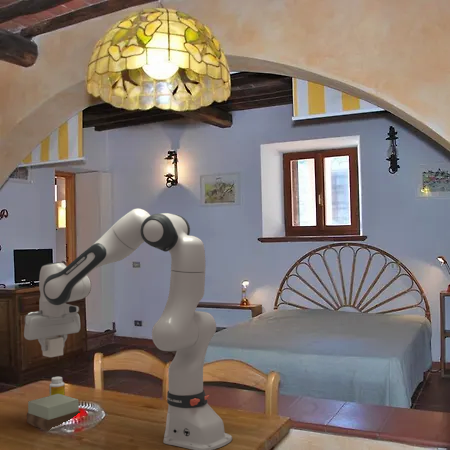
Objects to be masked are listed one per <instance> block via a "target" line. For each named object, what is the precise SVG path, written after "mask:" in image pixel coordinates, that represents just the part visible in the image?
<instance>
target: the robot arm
mask: <svg viewBox="0 0 450 450" xmlns="http://www.w3.org/2000/svg"><path fill="white" fill-rule="evenodd" d="M190 233H191V228H190V224H189V222H188V221H187V219H185V217H183V216H181V215H179V214H174V213H168V212H163V213H154V214H150V213H149V212H148V211H146V210H145V209H142V208H133V209H131V210H130V211H128V212H127V213H126V214H124V215H123V216H122V217H120V218H119V219H117V221H115V223H114V224H113V225H112V226H111V227H110V228H109V229H108V230H107V231H105V232H104V233H103V234H102V236H100V238H98V239H97V240H96V241H95V242H94V243H92V245H91V246H90V247H88V248H87V249H86V250H84V251H83V252H82V253H81V254H80V255H78V256H77V257H76V258H75V259H74V260H73V261H71V262H70V263H69V264H68V265H66V264H65V263H63V262H62V261H61V262H59V261H56V262H50V263H46V264H44V265H42V266H41V268H40V271H39V279H38V285H39V286H38V289H39V292H40V294H39V295H40V297H39V300H38V301H39V303H38V304H39V306H38V307H39V310H36V311H30V312H28V313H27V314H26V315H25V316H24V330H23V337H24V339H25V340H28V341H33V340H34V341H35V340H37V341H38V343H39V345H40V347H41V351H42V352H43V351H47V350H48V345H45V343H44V341H45V338H47V337H53V336H58V337H62V338H63V349H64V348H65V344H66V343H65V342H66V341H67V339H68V335H69V334H70V335H71V334H77V333H79V332H80V330H81V317H80V314H79V312H80V307H79V306H77V305H72V304H70V302H75V301H79V300H82V299H85V298H87V297H88V296H89V295H90V293H91V290H92V281H91V279H90V277H89V276H88V275H89V274H91V272H93V271H94V270H95V269H98V268H101V267H102V266H105V265H108V264H112V263H117V262H119V261H122V260H124V259H126V258H127V257H129V256H130V255H132V254H133V253H134V252H135V251H136V250H137V249H138V248H139V247H140V246H141V245H143V243H144V242H145V243H146V244H147V245H149V246H151V247H153V248H155V249H158V250H161V251H163V252H169V254H170V257H171V264H170V279H169V280H170V281H169V291H168V297H167V300H166V303H165V306H164V308H163V311H162V313H161V315H160V316H159V319H158V320H157V321H156V322H155V323H154V325H153V327H152V330H151V339H152V342H153V344H154V345H155V347H156V348H157V349H158V350H160V351H163V352H175V355H174V358H173V359H172V361H171V362H170V363H169V366H168V370H167V371H168V372H167V373H168V390H167V395H166V400H167V401H166V402H167V405H168V407H167V413H166V422H165V430H164V434H163V444H166V445H170V446H176V447H179V448H184V449H189V450H217V449H219V448H221V447H224V446H226V445H228V444H230V443H231V442H232V440H233V436H232V435H231V434H229V433H226V432H225V424H224V421H223V418H221V417H220V416H219V414H217V413H216V411H215V410H214V409H213V408H212V407H211V406H210V404H208V400H209V399H210V396H211V395H210V394H208V395H206V393H205V390H204V365H205V359H206V354H207V351H208V347H209V345H210V342H211V341H212V338H214V336H215V334H216V331H217V322H216V320H215V318H214V316H213V315H212V314H211V313H209V312H207V311H200V310H197V306H198V305H199V303H200V301H201V300H202V299H203V297H204V295H205V285H206V284H205V283H206V250H205V244H204V242H203V240H201V239H200V238H199V237H197V236H194V235H190Z"/></svg>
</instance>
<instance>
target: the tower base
mask: <svg viewBox="0 0 450 450" xmlns="http://www.w3.org/2000/svg"><path fill="white" fill-rule="evenodd" d="M80 412H81V410H79V411H77V412H73V413H70V414H67V415H64V416H60V417H57V418H54V419H50V420H47V419H44V418H41V417H38V416H35V415H32V414H29V413H28V412H26V423H27V424H28V425H31V426H34V427H36V428H38V429H39V430H40V429H41V428H42V429H41V430H43V431H44V432H50V431H51V430H50V429H51V428H52V427H55V426H58V425H60V424H62V423H63V422H66V421H68V420H70V419H71V418H73V417H74V416H76V415H77V414H78V413H80ZM49 430H50V431H49Z"/></svg>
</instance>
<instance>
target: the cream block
mask: <svg viewBox="0 0 450 450" xmlns="http://www.w3.org/2000/svg"><path fill="white" fill-rule="evenodd" d="M44 343H45V345H48V350H47V351H42V356H44V357H46V358H47V357H48V358H54V357H55V358H56V357H59V356H64V348H63V338H62V337H61V336H53V337H47V338H45V341H44Z"/></svg>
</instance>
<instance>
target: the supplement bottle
mask: <svg viewBox="0 0 450 450" xmlns="http://www.w3.org/2000/svg"><path fill="white" fill-rule="evenodd" d="M48 386H49V387H48V389H49V393H48V396H51V395H55V394H61V395H65V394H66V393H65V382H64V381H63V377H62V376H53V377H51V382H50V383H49V385H48ZM65 396H66V395H65Z"/></svg>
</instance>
